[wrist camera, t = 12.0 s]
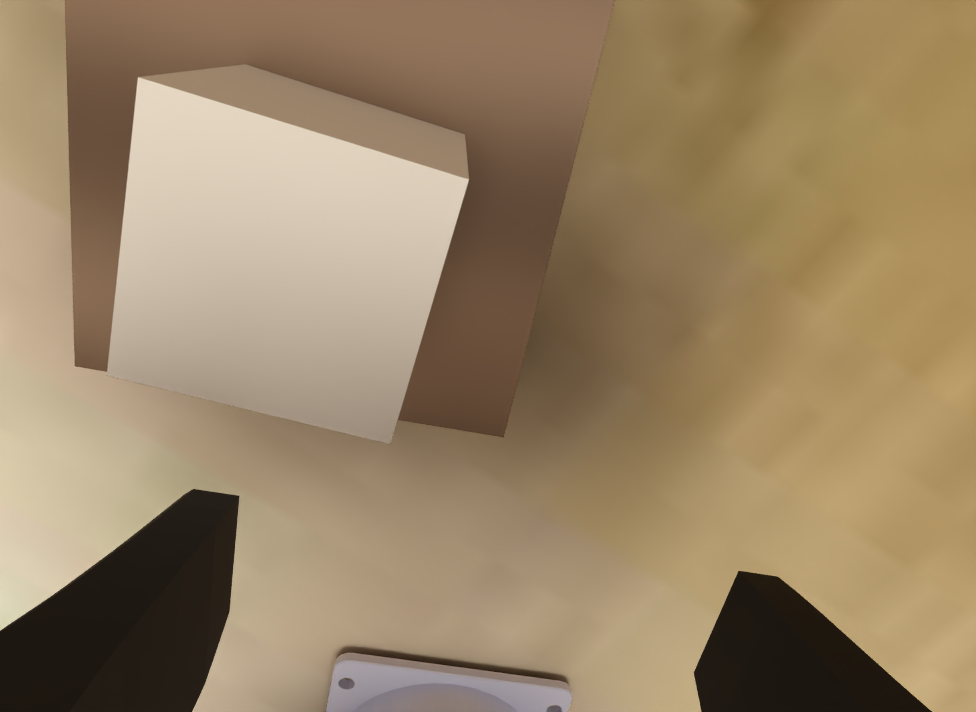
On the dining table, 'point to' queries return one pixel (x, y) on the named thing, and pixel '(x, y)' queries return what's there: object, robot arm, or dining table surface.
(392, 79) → the walnut block
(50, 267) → the dining table surface
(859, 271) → the dining table surface
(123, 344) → the white block
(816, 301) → the dining table surface
